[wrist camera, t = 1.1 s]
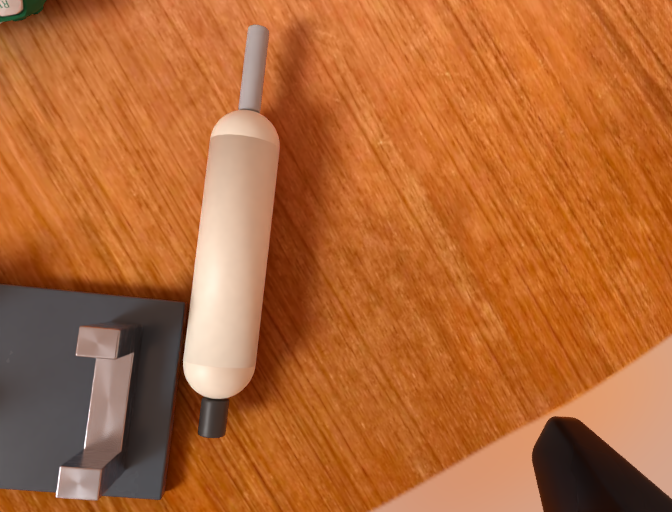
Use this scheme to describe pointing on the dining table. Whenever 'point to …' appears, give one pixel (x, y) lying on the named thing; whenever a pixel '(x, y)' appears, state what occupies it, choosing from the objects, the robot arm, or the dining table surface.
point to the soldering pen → (232, 247)
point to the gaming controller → (19, 9)
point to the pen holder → (87, 391)
